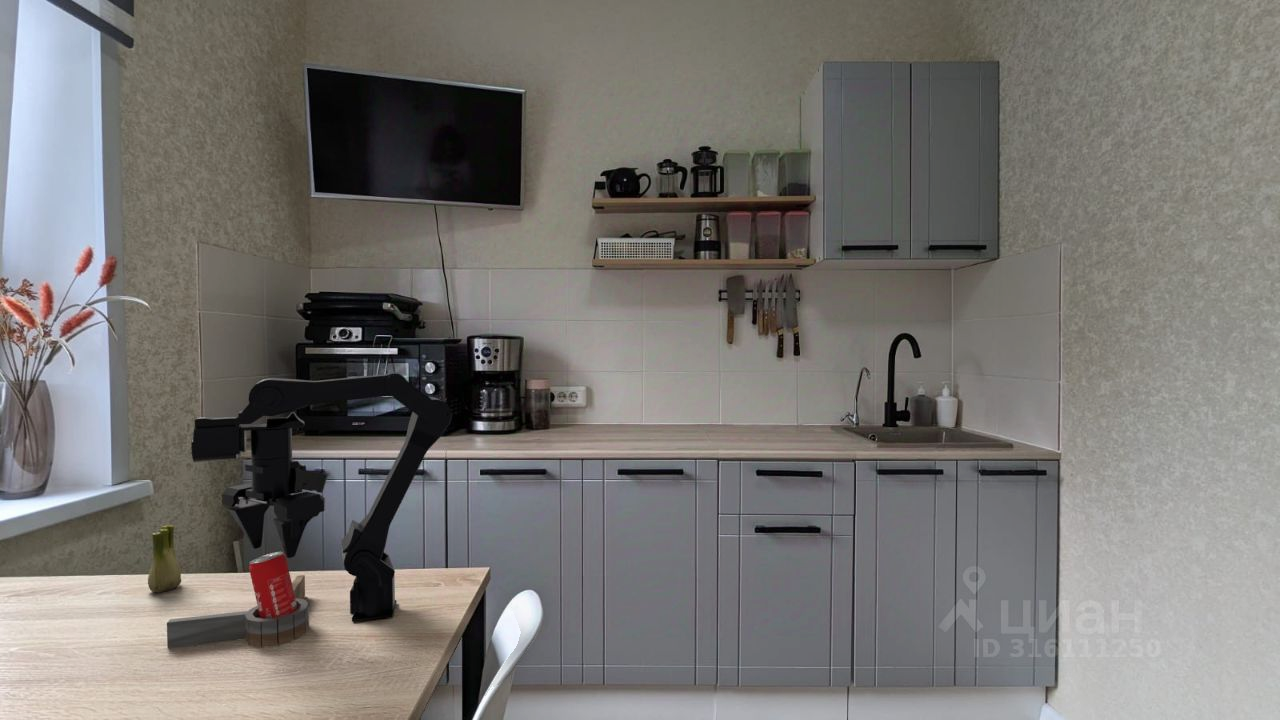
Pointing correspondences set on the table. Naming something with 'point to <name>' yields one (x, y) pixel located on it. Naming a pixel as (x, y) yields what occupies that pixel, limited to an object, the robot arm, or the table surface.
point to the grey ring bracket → (242, 625)
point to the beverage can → (272, 585)
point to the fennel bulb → (164, 562)
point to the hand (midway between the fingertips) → (273, 552)
